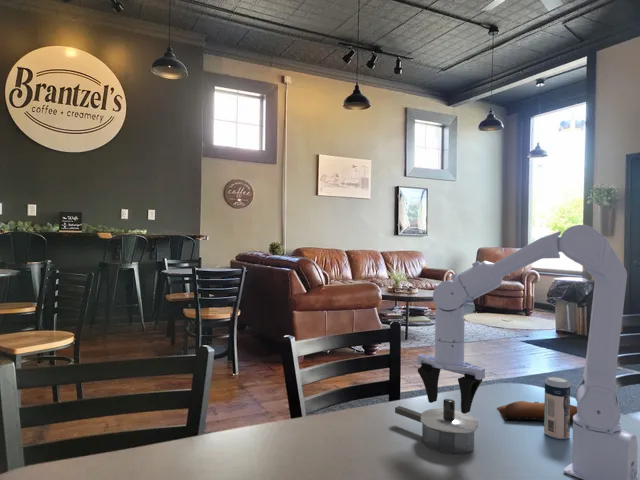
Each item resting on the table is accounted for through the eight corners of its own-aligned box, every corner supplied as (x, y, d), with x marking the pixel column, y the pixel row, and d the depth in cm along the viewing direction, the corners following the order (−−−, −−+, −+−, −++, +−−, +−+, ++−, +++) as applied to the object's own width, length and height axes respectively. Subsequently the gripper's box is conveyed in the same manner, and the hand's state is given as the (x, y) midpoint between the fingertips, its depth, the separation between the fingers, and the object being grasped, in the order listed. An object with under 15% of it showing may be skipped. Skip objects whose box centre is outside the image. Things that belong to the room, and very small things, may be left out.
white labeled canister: (572, 441, 93) (573, 383, 93) (547, 439, 94) (548, 381, 94) (565, 432, 98) (565, 376, 98) (541, 430, 99) (542, 375, 99)
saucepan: (483, 444, 91) (483, 424, 91) (456, 459, 85) (456, 437, 85) (410, 417, 105) (411, 400, 105) (382, 428, 98) (382, 410, 98)
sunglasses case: (569, 411, 110) (576, 392, 107) (581, 436, 104) (589, 417, 101) (493, 407, 112) (498, 388, 108) (501, 432, 106) (506, 413, 102)
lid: (489, 425, 91) (489, 403, 91) (454, 439, 84) (455, 415, 84) (443, 408, 100) (443, 388, 100) (409, 419, 93) (409, 398, 93)
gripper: (408, 336, 95) (407, 401, 94) (472, 349, 84) (471, 422, 84) (428, 332, 99) (427, 394, 99) (490, 343, 88) (489, 413, 88)
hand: (448, 406), depth 92 cm, fingers open, 7 cm apart
